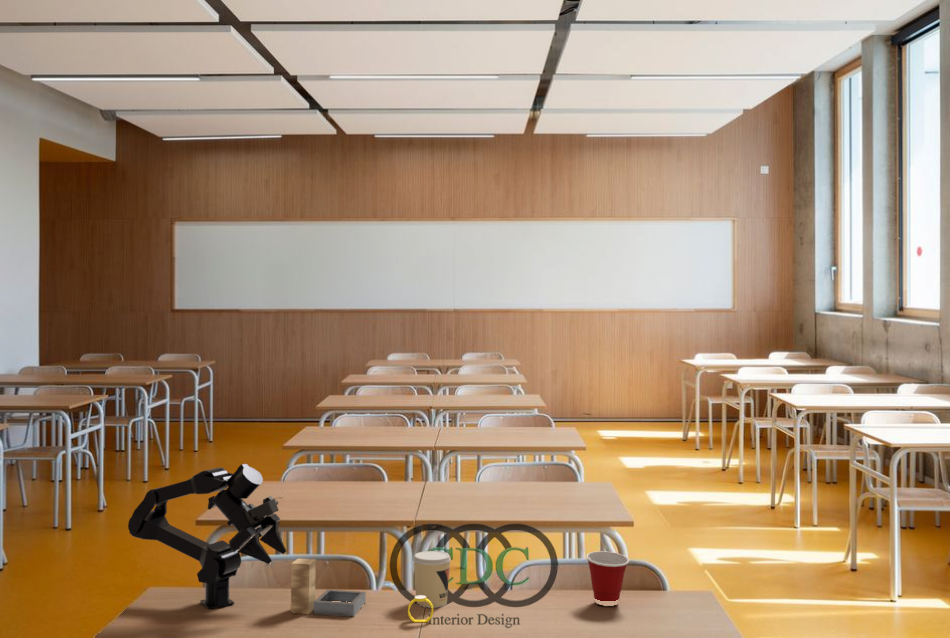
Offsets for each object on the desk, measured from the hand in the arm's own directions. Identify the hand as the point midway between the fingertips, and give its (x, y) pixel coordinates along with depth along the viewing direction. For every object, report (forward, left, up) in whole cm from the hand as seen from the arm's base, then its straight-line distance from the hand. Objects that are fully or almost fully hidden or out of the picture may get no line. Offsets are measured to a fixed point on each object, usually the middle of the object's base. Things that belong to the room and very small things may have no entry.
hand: (277, 557), depth 214 cm
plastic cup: (+44, +70, -13) cm, 83 cm away
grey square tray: (+9, +13, -13) cm, 20 cm away
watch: (+28, +24, -13) cm, 39 cm away
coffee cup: (+18, +34, -13) cm, 40 cm away
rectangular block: (+5, +5, -13) cm, 14 cm away
